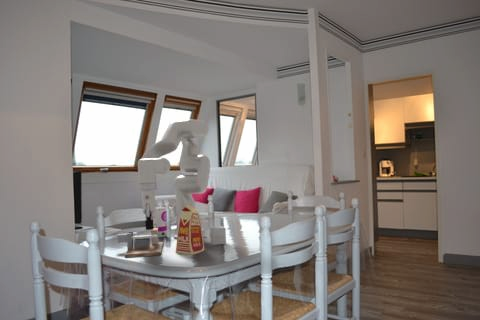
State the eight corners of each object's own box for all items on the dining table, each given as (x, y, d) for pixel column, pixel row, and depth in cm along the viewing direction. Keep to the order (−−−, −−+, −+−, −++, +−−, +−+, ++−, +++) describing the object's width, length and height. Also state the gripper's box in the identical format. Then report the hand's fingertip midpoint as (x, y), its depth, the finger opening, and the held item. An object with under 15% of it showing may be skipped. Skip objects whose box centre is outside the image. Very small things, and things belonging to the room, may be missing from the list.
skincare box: (222, 241, 177) (222, 225, 177) (226, 244, 171) (225, 227, 171) (210, 242, 175) (209, 226, 175) (213, 245, 169) (212, 228, 169)
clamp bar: (156, 239, 164) (156, 231, 164) (156, 240, 161) (156, 232, 161) (118, 241, 162) (118, 234, 162) (117, 242, 159) (117, 235, 159)
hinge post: (133, 247, 164) (133, 231, 164) (131, 249, 158) (131, 233, 159) (129, 247, 163) (128, 231, 164) (127, 250, 158) (127, 233, 158)
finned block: (150, 245, 166) (149, 237, 166) (148, 249, 159) (148, 240, 159) (136, 246, 165) (135, 238, 165) (134, 250, 158) (133, 240, 158)
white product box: (170, 235, 200) (169, 206, 200) (161, 238, 192) (161, 208, 192) (156, 234, 202) (155, 206, 203) (148, 237, 194) (147, 208, 195)
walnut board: (163, 244, 174) (163, 241, 174) (160, 255, 152) (160, 252, 152) (131, 246, 172) (131, 243, 172) (124, 257, 149) (124, 254, 149)
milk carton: (192, 254, 151) (190, 204, 151) (174, 252, 156) (173, 204, 156) (206, 250, 158) (204, 202, 159) (189, 248, 163) (187, 202, 164)
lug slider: (158, 243, 171) (157, 227, 171) (157, 245, 165) (157, 229, 165) (152, 243, 171) (151, 228, 171) (151, 246, 164) (150, 230, 165)
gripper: (155, 187, 156) (157, 231, 156) (157, 185, 171) (159, 225, 171) (137, 188, 155) (139, 233, 155) (140, 186, 170) (142, 227, 170)
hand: (149, 229), depth 163 cm, fingers closed
